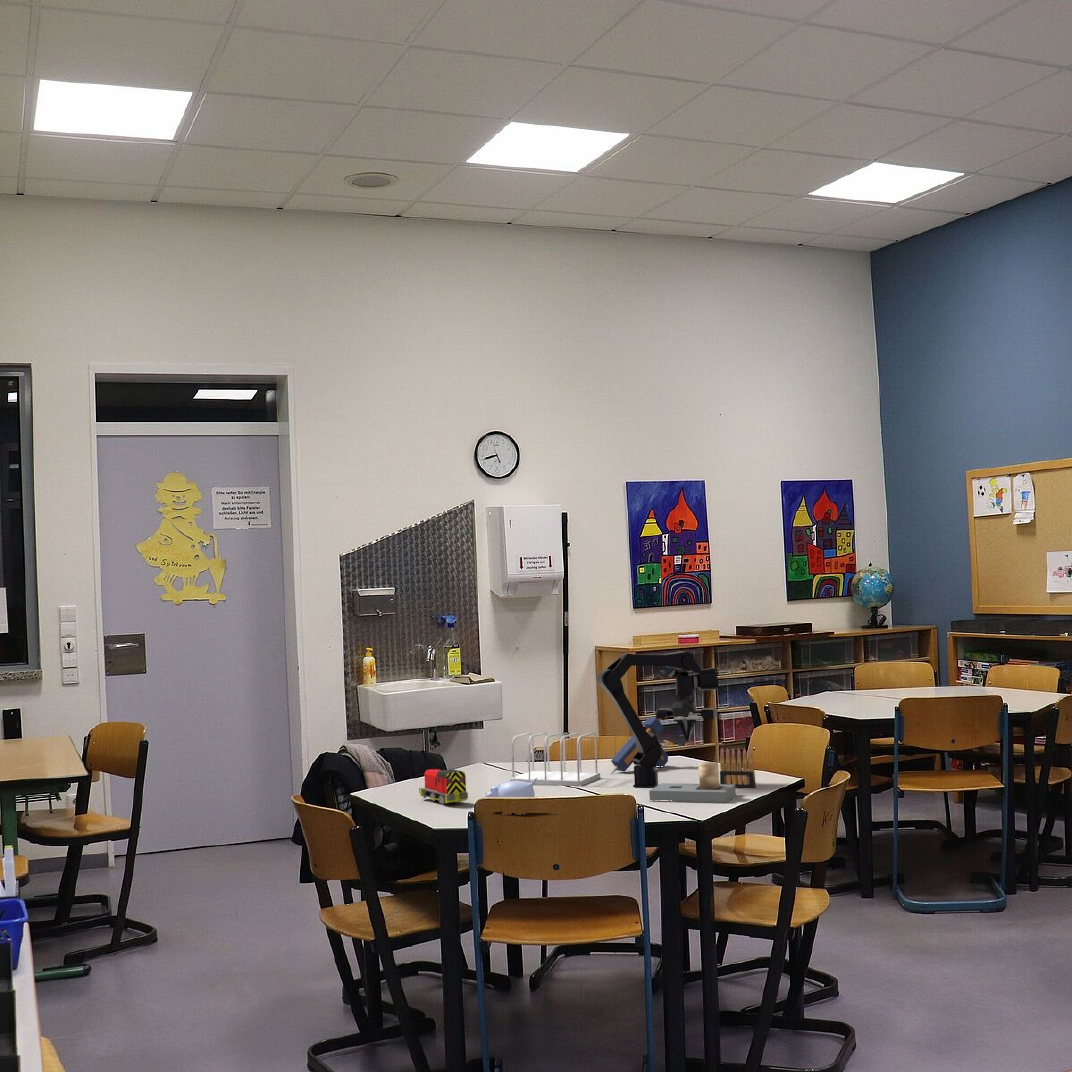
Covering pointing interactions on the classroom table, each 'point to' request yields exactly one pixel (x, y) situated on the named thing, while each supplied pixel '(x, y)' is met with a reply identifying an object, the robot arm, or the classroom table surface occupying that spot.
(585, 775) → the file sorter
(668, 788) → the two-hole board
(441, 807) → the classroom table surface
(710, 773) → the beech peg
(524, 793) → the hippopotamus toy
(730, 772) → the ammunition clip
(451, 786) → the toy train
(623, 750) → the glue gun
